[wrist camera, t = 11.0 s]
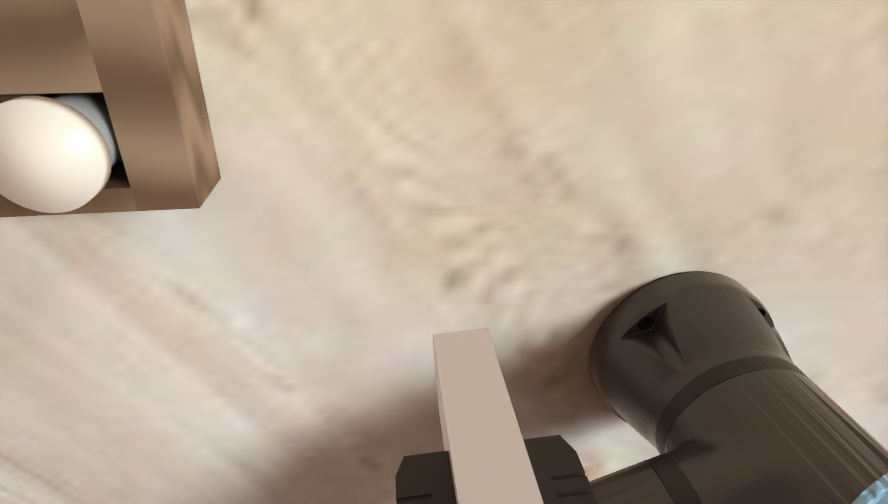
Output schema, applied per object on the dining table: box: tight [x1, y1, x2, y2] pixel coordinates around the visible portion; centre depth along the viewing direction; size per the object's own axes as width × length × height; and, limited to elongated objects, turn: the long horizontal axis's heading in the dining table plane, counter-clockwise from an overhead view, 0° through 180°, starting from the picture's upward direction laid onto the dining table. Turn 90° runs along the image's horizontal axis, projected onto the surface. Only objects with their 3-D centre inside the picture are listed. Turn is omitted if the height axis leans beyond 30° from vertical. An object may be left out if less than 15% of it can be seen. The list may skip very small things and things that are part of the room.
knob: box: [0, 92, 122, 213], centre depth 29 cm, size 6×6×7 cm
